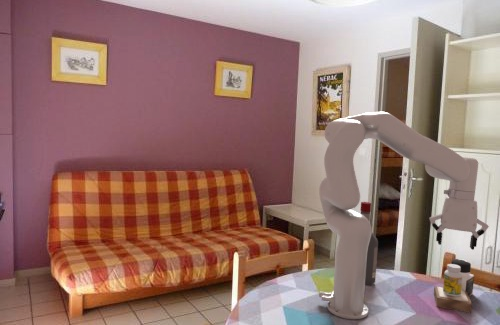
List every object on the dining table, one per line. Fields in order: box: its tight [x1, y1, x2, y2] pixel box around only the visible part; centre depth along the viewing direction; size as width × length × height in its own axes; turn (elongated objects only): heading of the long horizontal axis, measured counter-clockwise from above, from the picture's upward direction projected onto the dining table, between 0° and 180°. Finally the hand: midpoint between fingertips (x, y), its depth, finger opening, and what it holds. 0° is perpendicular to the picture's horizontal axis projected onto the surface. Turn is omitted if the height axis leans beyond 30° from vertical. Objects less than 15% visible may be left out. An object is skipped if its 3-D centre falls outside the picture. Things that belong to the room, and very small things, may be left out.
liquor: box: [360, 201, 379, 287], centre depth 145 cm, size 9×9×30 cm
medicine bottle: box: [450, 258, 475, 297], centre depth 138 cm, size 7×7×12 cm
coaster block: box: [433, 285, 472, 314], centre depth 131 cm, size 10×10×3 cm
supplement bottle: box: [443, 263, 462, 297], centre depth 130 cm, size 5×5×10 cm
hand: (455, 246), depth 129 cm, fingers open, 9 cm apart
